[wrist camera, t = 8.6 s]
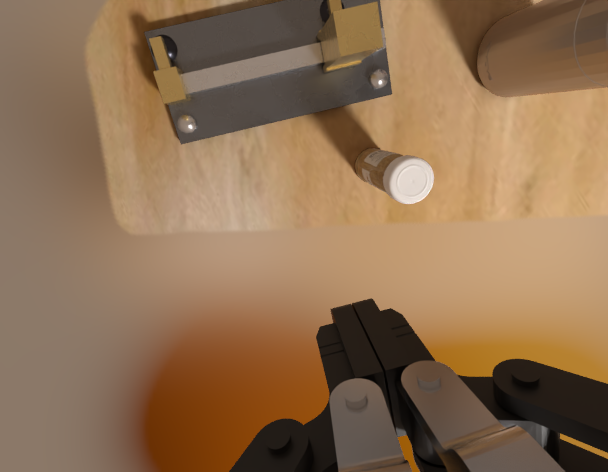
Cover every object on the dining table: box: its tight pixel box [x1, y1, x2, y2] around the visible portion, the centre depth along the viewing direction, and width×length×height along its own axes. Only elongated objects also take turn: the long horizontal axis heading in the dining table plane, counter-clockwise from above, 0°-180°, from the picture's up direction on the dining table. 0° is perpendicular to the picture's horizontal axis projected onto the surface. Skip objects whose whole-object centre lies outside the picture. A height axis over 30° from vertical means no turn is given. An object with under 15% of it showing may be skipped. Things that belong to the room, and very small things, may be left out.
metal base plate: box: [144, 0, 392, 144], centre depth 40 cm, size 26×12×2 cm, turn 103°
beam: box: [149, 28, 386, 105], centre depth 38 cm, size 25×6×3 cm, turn 103°
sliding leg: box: [317, 0, 383, 73], centre depth 35 cm, size 4×7×10 cm, turn 13°
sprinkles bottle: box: [355, 148, 434, 204], centre depth 40 cm, size 5×5×13 cm
